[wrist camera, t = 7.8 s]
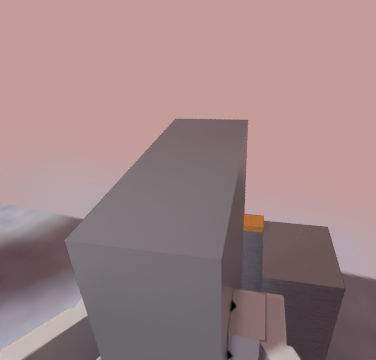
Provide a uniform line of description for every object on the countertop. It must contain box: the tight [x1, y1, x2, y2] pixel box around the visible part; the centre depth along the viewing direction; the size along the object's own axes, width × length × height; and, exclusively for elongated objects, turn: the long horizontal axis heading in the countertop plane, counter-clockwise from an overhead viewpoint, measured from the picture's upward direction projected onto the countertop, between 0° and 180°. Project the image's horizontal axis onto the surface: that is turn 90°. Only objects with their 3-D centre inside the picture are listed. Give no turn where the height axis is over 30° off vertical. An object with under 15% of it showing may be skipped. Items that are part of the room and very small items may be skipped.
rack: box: [241, 214, 346, 360], centre depth 24 cm, size 14×6×12 cm, turn 77°
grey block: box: [64, 119, 248, 360], centre depth 11 cm, size 3×8×10 cm, turn 167°
